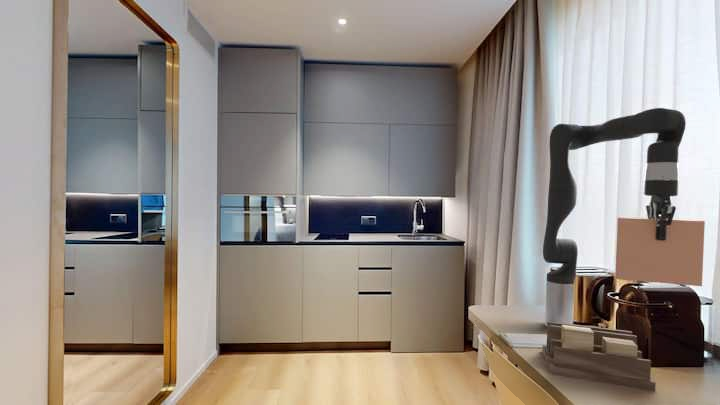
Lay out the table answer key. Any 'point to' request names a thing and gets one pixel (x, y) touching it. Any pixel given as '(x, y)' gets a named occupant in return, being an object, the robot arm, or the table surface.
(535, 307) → the table surface
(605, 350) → the offcut stack
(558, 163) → the robot arm
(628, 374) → the walnut rack
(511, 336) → the baseboard molding
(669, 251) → the terracotta board
